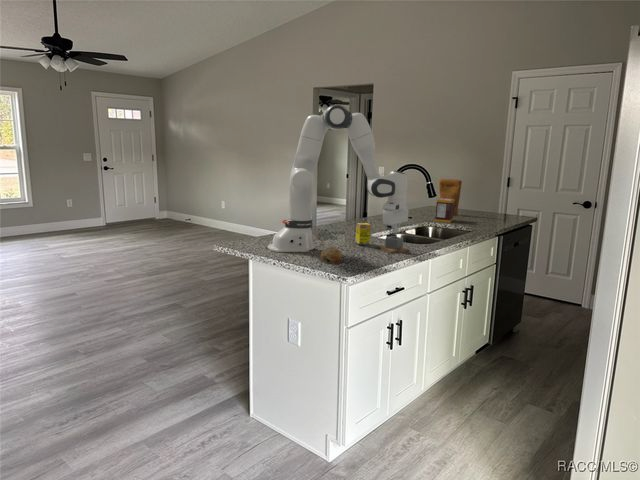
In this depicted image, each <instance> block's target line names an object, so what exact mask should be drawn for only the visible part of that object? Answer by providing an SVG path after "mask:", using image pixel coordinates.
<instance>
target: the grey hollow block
mask: <svg viewBox="0 0 640 480" xmlns="http://www.w3.org/2000/svg"><path fill="white" fill-rule="evenodd" d="M384 240H385V241H384V246H385V248H389V249H395V250H397V249H400V248H403V247H404V237H400V236H393V235H391V236H388V237H387V236H386V237H385V239H384Z"/></svg>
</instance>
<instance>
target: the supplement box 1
mask: <svg viewBox="0 0 640 480" xmlns="http://www.w3.org/2000/svg"><path fill="white" fill-rule="evenodd" d="M371 226H372V224H370V223H368V222H356V226H355V228H356V229H355V244H356V245H358V246H370V243H371V241H370V239H371V230H372V229H371Z"/></svg>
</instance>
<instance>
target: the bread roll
mask: <svg viewBox="0 0 640 480" xmlns="http://www.w3.org/2000/svg"><path fill="white" fill-rule="evenodd" d="M343 257H344V255H343V253H342V252H341V251H340V250H339V249H338V248H337V247H326V248H325V249H322V251H321V253H320V261H321V263H322V262H323V263H324V264H333V265H334V264H335V265H336V264H337V265H338V264H341V263H342V262H343Z"/></svg>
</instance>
